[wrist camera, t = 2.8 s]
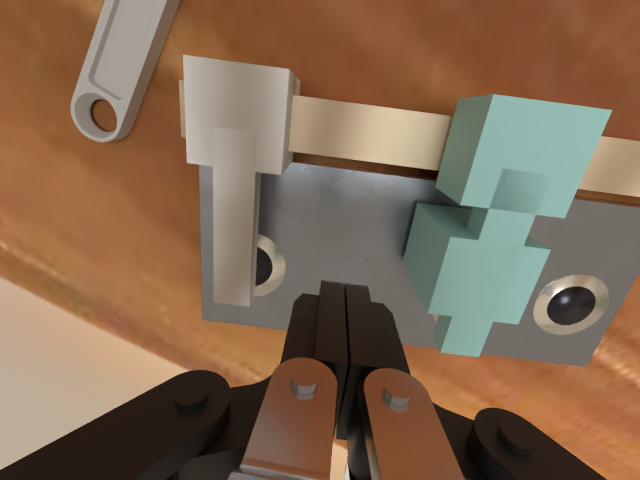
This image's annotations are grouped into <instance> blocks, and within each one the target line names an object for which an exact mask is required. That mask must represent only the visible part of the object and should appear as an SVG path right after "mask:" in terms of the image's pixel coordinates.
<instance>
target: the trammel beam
mask: <svg viewBox="0 0 640 480" xmlns="http://www.w3.org/2000/svg"><path fill="white" fill-rule="evenodd" d="M183 69H184V80H179V93H180V117H181V137H184V138H186V151H187V163H191V164H199V165H206V166H213V255H214V303H222V304H231V305H239V306H247V307H250V304H251V302H252V299H253V297H254V295H255V280H256V269H257V265H256V260H257V241H258V222H259V202H260V183H261V173H268V174H276V175H282V174H283V173H284V171H285V170H286V169H287V168H288V166H289V165H290V164H291V163H292V161H293V160H294V152H299V153H307V154H314V155H322V156H330V157H337V158H345V159H353V160H360V161H368V162H375V163H383V164H391V165H398V166H406V167H414V168H421V169H429V170H437V171H439V170H440V166H441V162H442V158H443V155H444V151H445V147H446V143H447V139H448V136H449V132H450V128H451V124H452V120H453V117H454V116H447V115H439V114H432V113H424V112H417V111H409V110H402V109H394V108H387V107H379V106H372V105H364V104H357V103H349V102H342V101H335V100H327V99H320V98H312V97H305V96H300V85H301V81H300V80H299V79H298V78H297V77H296V76H295V74H294V73H293V72H292V71H291V70H290V69H285V68H278V67H270V66H263V65H255V64H248V63H241V62H233V61H226V60H218V59H211V58H204V57H196V56H189V55H183ZM578 189H582V190H589V191H597V192H605V193H612V194H620V195H628V196H635V197H640V141H634V140H627V139H619V138H612V137H604V136H601V137H600V139H599V141H598V144H597V146H596V148H595V151H594V153H593V155H592V157H591V160H590V162H589V164H588V167H587V169H586V171H585V173H584V176H583V178H582V180H581V182H580V185H579V187H578Z"/></svg>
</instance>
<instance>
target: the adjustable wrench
mask: <svg viewBox="0 0 640 480" xmlns="http://www.w3.org/2000/svg"><path fill="white" fill-rule="evenodd" d="M180 1H181V0H105V2H104V5H103V8H102V11H101V14H100V17H99V20H98V23H97V26H96V29H95V32H94V35H93V38H92V41H91V44H90V47H89V50H88V53H87V56H86V59H85V62H84V65H83V67H82V70H81V73H80V76H79V79H78V82H77V85H76V88H75V91H74V94H73V97H72V100H71V107H70V110H71V116H72V119H73V121H74V123H75V125H76V127H77V128H78V129H79V130H80V132H81V133H83V134H84V135H85V136H86V137H88V138H90V139H92V140H94V141H98V142H108V141H116V140H120V139H123V138H124V137H126V136H127V135H128V134H129V132H130V131H131V129H132V126H133V124H134V121H135V118H136V116H137V113H138V111H139V108H140V105H141V103H142V100H143V98H144V95H145V92H146V90H147V87H148V84H149V82H150V79H151V77H152V74H153V71H154V69H155V66H156V64H157V61H158V58H159V56H160V53H161V50H162V48H163V45H164V43H165V40H166V37H167V35H168V32H169V29H170V27H171V24H172V22H173V19H174V16H175V14H176V11H177V9H178V6H179V3H180ZM98 99H104V100H107V101H109V103H110V104H111V105H112V107H113V108H114V111H115V113H116V116H117V126H116V129H115V130H114V131H112V132H105V131H102V130H101V129H100V128H99V127H98V126H97V125H96V124H95V122H94V120H93V118H92V113H91V108H92V104H93V102H94V101H95V100H98Z"/></svg>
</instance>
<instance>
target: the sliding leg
mask: <svg viewBox="0 0 640 480" xmlns="http://www.w3.org/2000/svg"><path fill="white" fill-rule="evenodd" d="M611 112H612V110H607V109H600V108H592V107H585V106H578V105H570V104H563V103H555V102H548V101H541V100H533V99H526V98H518V97H511V96H503V95H496V94H491V95H482V96H474V97H465V98H458V102H457V105H456V109H455V113H454V117H453V120H452V124H451V128H450V132H449V136H448V139H447V143H446V147H445V151H444V155H443V158H442V162H441V166H440V170H439V173H438V177H437V181H436V185H435V187H436V188H437V189H439V190H440V191H441V192H443V193H444V194H446V195H447V196H448V197H450V198H451V199H453V200H454V201H455V202H457V203H458V204H460V205H465V206H473V210H472V209H464V208H456V207H449V206H441V205H433V204H425V203H418V202H417V206H416V210H415V214H414V218H413V222H412V226H411V230H410V234H409V238H408V242H407V246H406V251H405V255H404V259H403V264H404V266H405V268H406V270H407V272H408V274H409V276H410V278H411V280H412V282H413V284H414V286H415V288H416V291H417V293H418V295H419V297H420V299H421V301H422V303H423V305H424V307H425V309H426V311H427V313H428V314H432V315H433V317H434V319H435V321H436V326H435V329H434V332H433V335H432V336H433V338H434V340H435V342H436V344H437V347H438V349H439V351H440V353H448V354H456V355H464V356H472V357H479V356H480V353H481V351H482V348H483V346H484V343H485V341H486V338H487V336H488V333H489V331H490V328H491V326H492V323H493V322H501V323H509V324H517V325H518V324H519V321H520V319H521V317H522V315H523V312H524V310H525V308H526V305H527V303H528V301H529V299H530V296H531V294H532V292H533V289H534V287H535V285H536V283H537V280H538V278H539V276H540V274H541V271H542V269H543V267H544V264H545V262H546V260H547V258H548V255H549V253H550V251H551V249H549V248H547V247H546V246H544V245H543V244H541V243H539V242H538V241H536V240H535V239H533V238H531V237H530V236H528V234H529V231H530V229H531V226H532V224H533V221H534V219H535V216H536V215H542V216H550V217H558V218H565V217H566V214H567V212H568V210H569V207H570V205H571V203H572V201H573V198H574V196H575V194H576V192H577V189H578V187H579V185H580V182H581V180H582V178H583V176H584V173H585V171H586V169H587V167H588V164H589V162H590V160H591V157H592V155H593V153H594V151H595V148H596V146H597V144H598V141H599V139H600V137H601V135H602V132H603V130H604V128H605V126H606V123H607V121H608V119H609V116H610V114H611Z"/></svg>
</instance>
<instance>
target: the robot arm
mask: <svg viewBox="0 0 640 480" xmlns="http://www.w3.org/2000/svg"><path fill="white" fill-rule="evenodd" d="M335 428H336V439H341V440H347V447H348V457H347V461H346V466H345V472H344V478H345V480H607V479H605V478H604V477H603V476H601V475H600V474H598V473H597V472H596V471H594V470H593V469H592V468H590V467H589V466H588V465H586V464H585V463H584V462H582V461H581V460H580V459H578V458H577V457H576V456H574V455H573V454H571V453H570V452H569V451H567V450H566V449H565V448H563V447H562V446H561V445H559V444H558V443H557V442H555V441H554V440H553V439H551V438H550V437H549V436H547V435H546V434H544V433H543V432H542V431H540V430H539V429H538V428H536V427H535V426H534V425H532V424H531V423H530V422H528V421H527V420H525V419H524V418H522V417H520V416H518V415H517V414H514V413H512V412H510V411H507V410H504V409H499V408H486V409H483V410H481V411H479V412H478V414H477V415H476V417H475V420H471V419H469V418H466V417H464V416H461V415H459V414H456V413H453V412H451V411H448V410H446V409H444V408H442V407H440V406H438V405H436V404H434V403H433V402H432V401H431V399H430V396H429V394H428V392H427V390H426V389H425V388H424V386H423V385H422V384H421V383H420V382H419V381H418V380H417V379H415V378H414V377H412V376H411V374H410V371H409V367H408V364H407V361H406V357H405V354H404V350H403V347H402V344H401V340H400V338H399V333H398V330H397V328H396V323H395V320H394V317H393V314H392V313H391V311H390V310H389V309H388V308H387V307H386V306H385V305H384V304H383V303H377V302H371V297H370V292H369V287H368V286H367V285H359V284H351V283H345V284H344V283H342V282H334V281H326V280H321V283H320V290H319V295H313V294H305V293H302V294H301V295H300V296H299V297H298V298H297V299H296V300H295V301H294V304H293V309H292V314H291V318H290V323H289V327H288V331H287V336H286V340H285V345H284V349H283V354H282V359H281V362H280V365H279V366H278V367H277V368H276V369H275V370H274V372H273V374H272V375H271V376H270V377H268V378H267V379H265V380H263V381H261V382H258V383H255V384H251V385H246V386H239V387H233V388H230V387H229V384H228V382H227V381H226V380H225V379H224V378H223V377H222V376H221V375H219V374H217V373H215V372H212V371H207V370H194V371H189V372H185V373H182V374H179V375H177V376H175V377H173V378H171V379H169V380H167V381H166V382H164V383H162V384H160V385H158V386H156V387H154V388H152V389H151V390H149V391H147V392H145V393H143V394H141V395H139V396H137V397H136V398H134V399H132V400H130V401H128V402H126V403H124V404H123V405H121V406H119V407H117V408H115V409H113V410H111V411H110V412H108V413H106V414H104V415H102V416H100V417H98V418H97V419H95V420H93V421H91V422H89V423H87V424H85V425H83V426H82V427H80V428H78V429H76V430H74V431H73V432H70V433H69V434H67V435H65V436H63V437H61V438H59V439H57V440H56V441H54V442H52V443H50V444H48V445H46V446H44V447H42V448H41V449H39V450H37V451H35V452H33V453H31V454H29V455H27V456H26V457H24V458H22V459H20V460H18V461H16V462H14V463H13V464H11V465H9V466H7V467H5V468H3V469H2V470H0V480H330V467H331V455H332V444H333V439H334V434H335Z"/></svg>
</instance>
